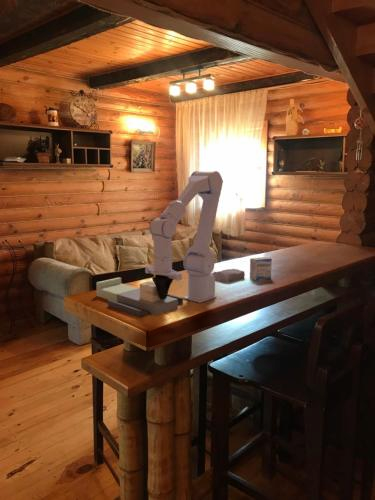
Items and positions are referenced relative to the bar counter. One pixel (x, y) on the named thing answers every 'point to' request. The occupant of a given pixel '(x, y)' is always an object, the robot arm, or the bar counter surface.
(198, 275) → the robot arm
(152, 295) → the ash block
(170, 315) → the bar counter surface
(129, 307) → the trap causeway
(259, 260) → the medicine box
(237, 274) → the stone block
